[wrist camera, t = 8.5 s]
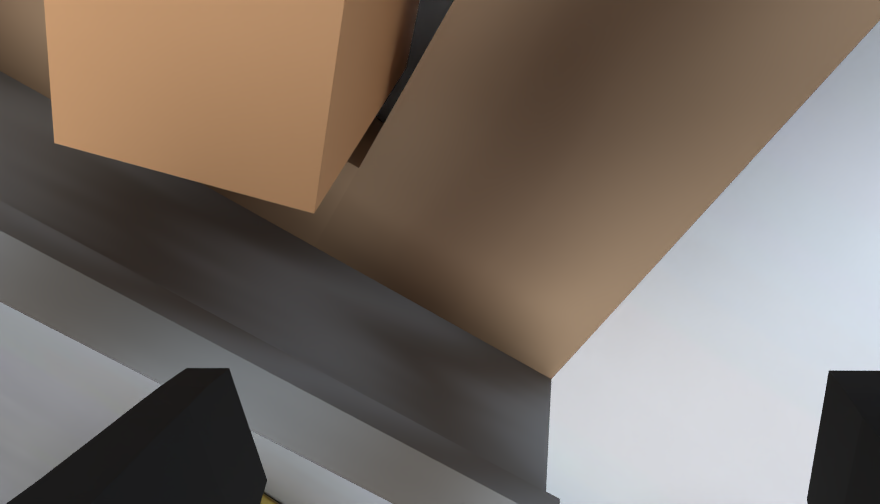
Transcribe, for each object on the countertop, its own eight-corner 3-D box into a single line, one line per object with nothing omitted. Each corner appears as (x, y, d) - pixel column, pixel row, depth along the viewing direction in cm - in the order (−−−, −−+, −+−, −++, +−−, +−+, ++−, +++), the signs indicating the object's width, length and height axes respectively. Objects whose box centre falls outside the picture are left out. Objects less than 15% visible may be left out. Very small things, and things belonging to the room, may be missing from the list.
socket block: (845, -24, 15) (1028, 100, 9) (533, 340, 20) (514, 565, 14) (-33, -633, 12) (-623, -1046, 6) (-108, -22, 18) (-452, 69, 12)
